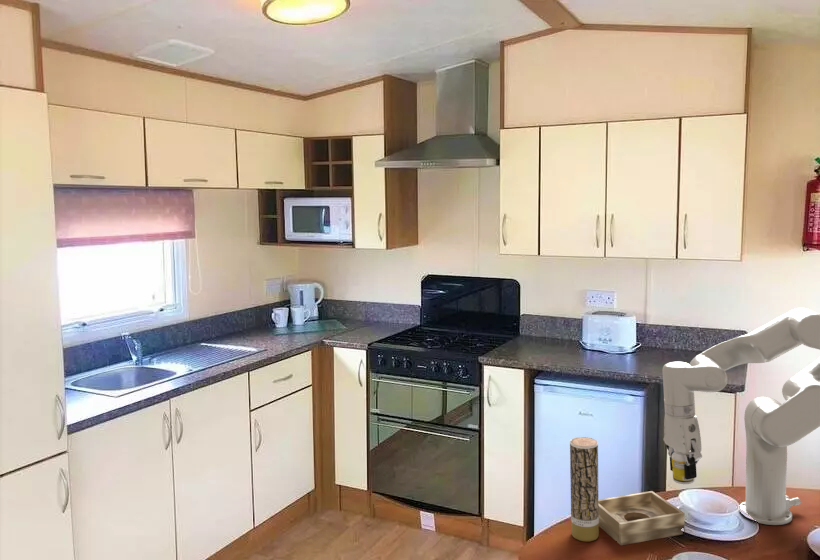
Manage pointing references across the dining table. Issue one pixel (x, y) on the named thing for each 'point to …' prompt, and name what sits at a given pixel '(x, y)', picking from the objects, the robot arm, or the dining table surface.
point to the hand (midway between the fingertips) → (683, 473)
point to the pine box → (639, 518)
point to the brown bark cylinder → (584, 488)
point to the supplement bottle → (679, 468)
